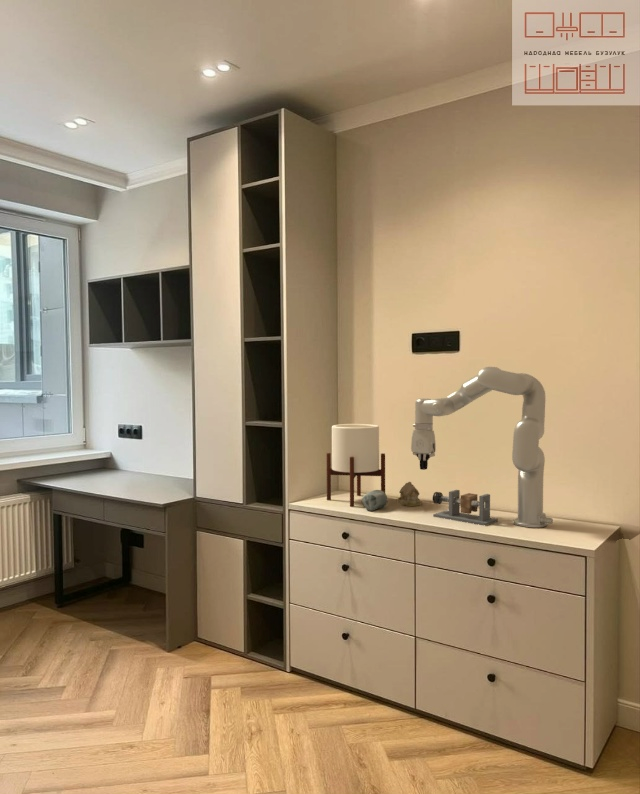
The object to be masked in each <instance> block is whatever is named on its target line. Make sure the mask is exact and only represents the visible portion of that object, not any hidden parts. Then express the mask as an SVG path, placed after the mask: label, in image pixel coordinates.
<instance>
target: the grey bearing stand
mask: <svg viewBox="0 0 640 794" xmlns="http://www.w3.org/2000/svg"><path fill="white" fill-rule="evenodd" d="M448 497H449V502H448V510H446V509H445V510H443V511H440V512H436V513H433V515H432V516H433V517H434V518H439V519H444V518H445V520H450V519H451V520H452V521H456V522H457V521H458V522H461V521H462V522H463V523H467V522H468V524H473V523H474V525H478V524H479V526H484V525H485V526H484V527H486V526H489V525H491V524H494V523H498V518H495V517H494V518H493V517H491V494H490V493H485V494H482V495H479V497H478V498H479V499H478V501H479V507H478V508H479V509H478V511H479V512H478V514H479V515H477V514H472V513H471V514H467V513H461V504H455V503H454V498H461V491H460V490H459V489H455V490H450V491H448ZM462 522H461V523H462Z"/></svg>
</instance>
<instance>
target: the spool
mask: <svg viewBox="0 0 640 794" xmlns="http://www.w3.org/2000/svg"><path fill="white" fill-rule="evenodd" d="M361 501H362V505H363V507H364V508H365V509H366V510H367V511H369V512H373V511H375V510H377V509H381V508H383V507H386V505H387V504H388V495H387V494H386V492H385V493H384V492H383V491H381V489H375V490H371V491H369V492H367V493H365V494H364V495H363V497H362V499H361Z"/></svg>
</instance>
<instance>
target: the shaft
mask: <svg viewBox="0 0 640 794" xmlns="http://www.w3.org/2000/svg"><path fill="white" fill-rule="evenodd" d="M432 502H433V503H434V504H435V505H440V504H442V503H449V496H447V495H446V496H445V495H444V494H443V493H442V492H440V491H435V492H434V493H433V495H432ZM454 503H455V504H460V505H461V497H460V498H455V497H454ZM471 506H474V507H477V508H479V500H477V501H474V500H473V501H471Z"/></svg>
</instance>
